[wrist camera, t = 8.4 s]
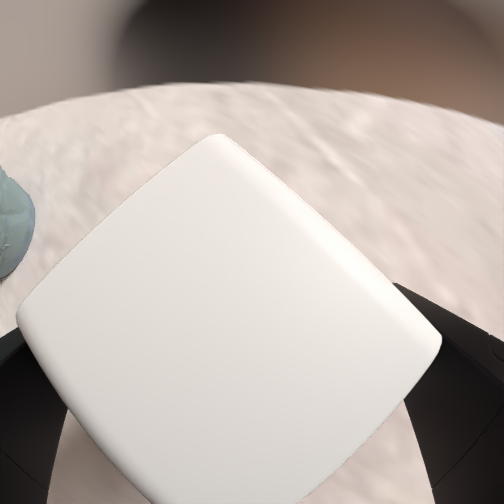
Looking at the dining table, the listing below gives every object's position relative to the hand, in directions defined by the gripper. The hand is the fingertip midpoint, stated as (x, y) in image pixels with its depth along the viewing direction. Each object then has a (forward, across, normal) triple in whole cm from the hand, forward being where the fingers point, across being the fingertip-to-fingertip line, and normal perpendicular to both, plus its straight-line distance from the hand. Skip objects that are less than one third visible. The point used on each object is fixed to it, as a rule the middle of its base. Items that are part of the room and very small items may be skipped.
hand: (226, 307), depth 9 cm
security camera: (+4, 0, +6) cm, 7 cm away
